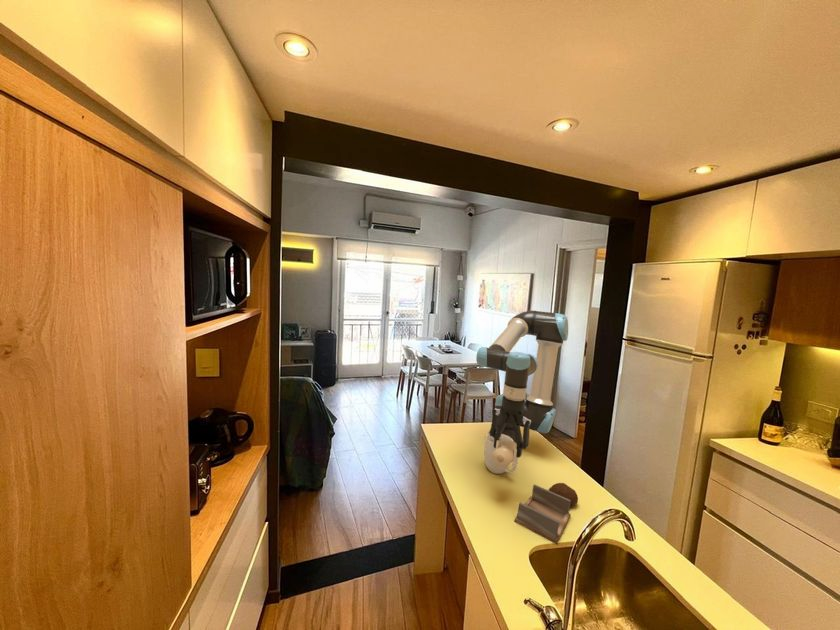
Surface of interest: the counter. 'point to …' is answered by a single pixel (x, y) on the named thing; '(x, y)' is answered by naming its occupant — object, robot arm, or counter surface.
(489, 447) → the mug
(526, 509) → the cradle
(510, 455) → the roll
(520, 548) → the counter surface
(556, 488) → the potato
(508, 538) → the counter surface
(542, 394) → the robot arm
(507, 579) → the counter surface
